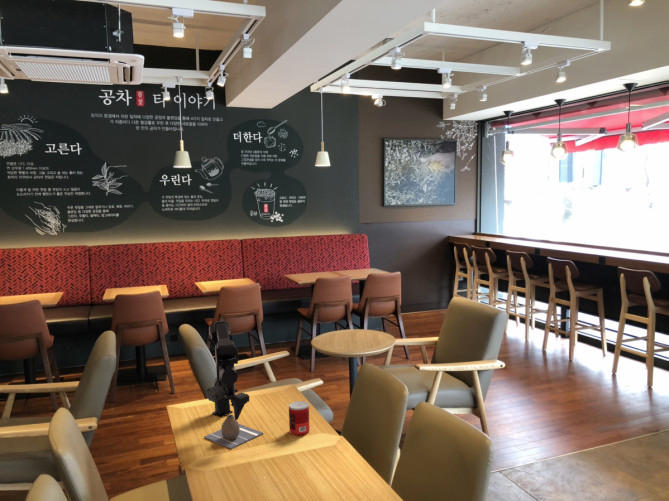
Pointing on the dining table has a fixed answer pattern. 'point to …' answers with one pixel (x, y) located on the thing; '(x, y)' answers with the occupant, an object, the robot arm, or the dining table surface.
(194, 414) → the dining table surface
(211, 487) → the dining table surface
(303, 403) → the canned food
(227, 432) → the vase
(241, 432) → the mat
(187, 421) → the dining table surface
